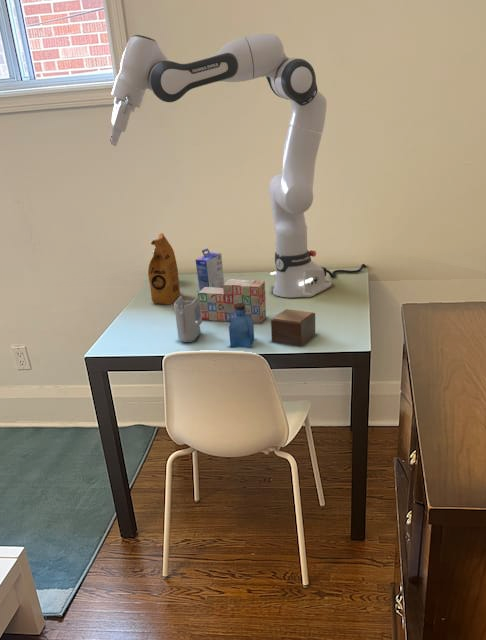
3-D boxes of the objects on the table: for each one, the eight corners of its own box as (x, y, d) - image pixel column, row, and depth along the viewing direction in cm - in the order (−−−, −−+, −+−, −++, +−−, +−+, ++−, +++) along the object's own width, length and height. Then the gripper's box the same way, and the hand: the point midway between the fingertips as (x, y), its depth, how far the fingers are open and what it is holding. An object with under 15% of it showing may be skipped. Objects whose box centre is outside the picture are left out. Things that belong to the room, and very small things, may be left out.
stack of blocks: (200, 320, 222) (196, 283, 216) (207, 313, 227) (203, 277, 221) (260, 323, 216) (259, 286, 209) (266, 317, 221) (265, 280, 214)
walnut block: (286, 330, 209) (285, 308, 205) (315, 334, 205) (315, 311, 201) (271, 342, 202) (270, 318, 198) (301, 346, 198) (301, 323, 194)
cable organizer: (204, 330, 214) (200, 293, 208) (193, 345, 204) (189, 306, 198) (184, 329, 216) (180, 293, 209) (173, 344, 205) (168, 306, 199)
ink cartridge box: (213, 284, 254) (209, 245, 246) (225, 286, 252) (222, 247, 244) (198, 292, 248) (194, 252, 240) (210, 294, 245) (206, 253, 237)
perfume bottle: (250, 347, 200) (248, 308, 193) (230, 347, 201) (227, 308, 194) (254, 339, 205) (252, 301, 198) (234, 339, 206) (231, 301, 199)
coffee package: (147, 304, 239) (138, 241, 227) (159, 293, 249) (150, 232, 237) (174, 305, 237) (166, 241, 225) (184, 293, 247) (177, 232, 235)
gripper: (139, 101, 190) (124, 151, 195) (135, 99, 207) (121, 144, 212) (118, 91, 187) (103, 142, 193) (115, 89, 204) (102, 136, 210)
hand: (112, 143), depth 203 cm, fingers open, 8 cm apart
